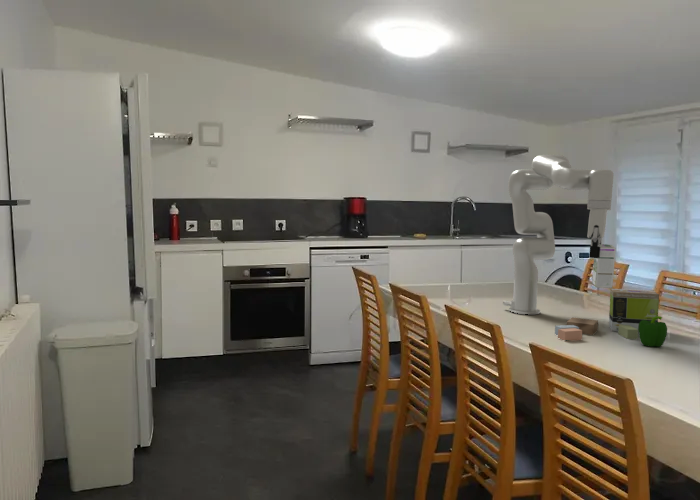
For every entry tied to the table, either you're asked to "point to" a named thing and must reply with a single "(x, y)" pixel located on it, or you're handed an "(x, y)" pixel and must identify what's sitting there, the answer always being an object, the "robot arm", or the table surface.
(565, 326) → the slate brick
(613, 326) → the tea box
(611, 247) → the syrup box
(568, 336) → the terracotta brick
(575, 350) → the table surface
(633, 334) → the olive brick
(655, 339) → the bell pepper
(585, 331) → the walnut block
